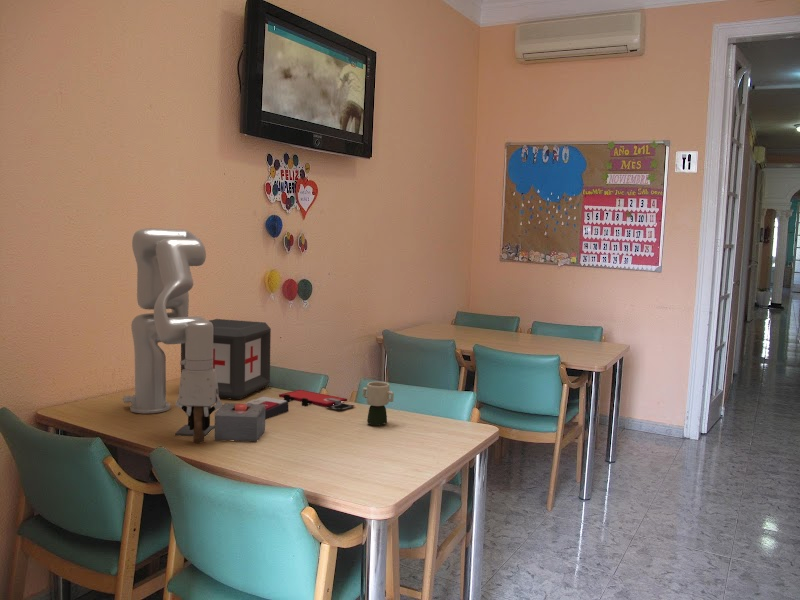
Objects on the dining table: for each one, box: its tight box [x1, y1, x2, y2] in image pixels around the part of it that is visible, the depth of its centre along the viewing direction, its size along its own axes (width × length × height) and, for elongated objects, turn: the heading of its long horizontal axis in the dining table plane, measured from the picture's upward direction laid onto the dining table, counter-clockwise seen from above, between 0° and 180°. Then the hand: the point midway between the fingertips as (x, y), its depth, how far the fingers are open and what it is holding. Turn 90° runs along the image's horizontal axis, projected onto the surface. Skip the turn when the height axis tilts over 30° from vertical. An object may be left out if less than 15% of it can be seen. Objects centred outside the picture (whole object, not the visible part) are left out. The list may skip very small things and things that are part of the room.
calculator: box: [242, 396, 290, 421], centre depth 223 cm, size 11×4×15 cm
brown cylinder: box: [192, 406, 205, 444], centre depth 191 cm, size 3×3×12 cm
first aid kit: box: [180, 318, 272, 400], centre depth 251 cm, size 25×25×25 cm
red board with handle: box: [278, 389, 355, 411], centre depth 240 cm, size 30×3×15 cm
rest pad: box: [174, 424, 215, 437], centre depth 201 cm, size 9×9×1 cm
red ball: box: [235, 403, 247, 411], centre depth 198 cm, size 3×3×3 cm
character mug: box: [362, 381, 394, 426], centre depth 214 cm, size 11×7×13 cm, turn 63°
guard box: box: [214, 402, 266, 443], centre depth 198 cm, size 12×11×8 cm
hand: (199, 428), depth 192 cm, fingers closed on brown cylinder, 3 cm apart
